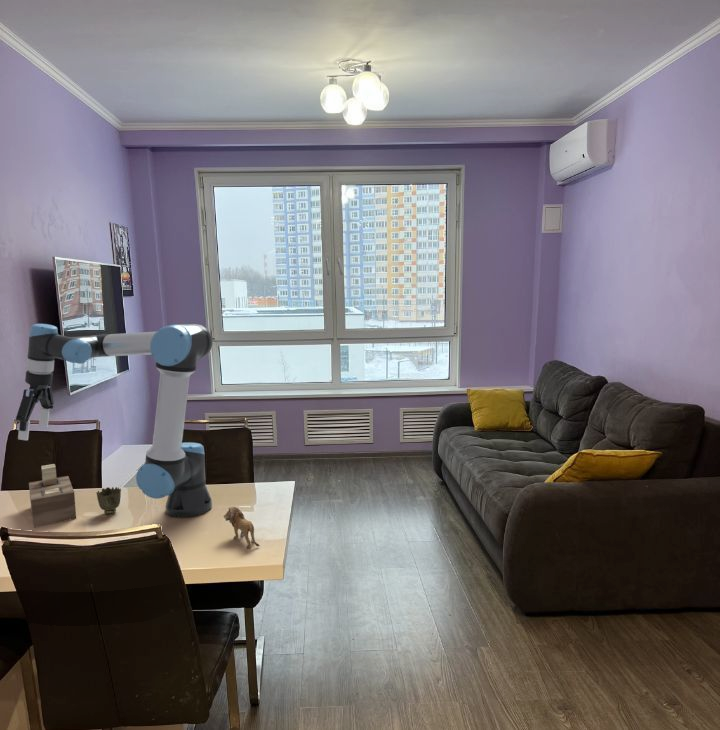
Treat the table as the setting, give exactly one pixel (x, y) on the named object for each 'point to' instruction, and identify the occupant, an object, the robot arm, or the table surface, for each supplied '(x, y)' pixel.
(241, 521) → the lion figurine
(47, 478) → the peg
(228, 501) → the table surface
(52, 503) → the wooden box
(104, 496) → the cup
